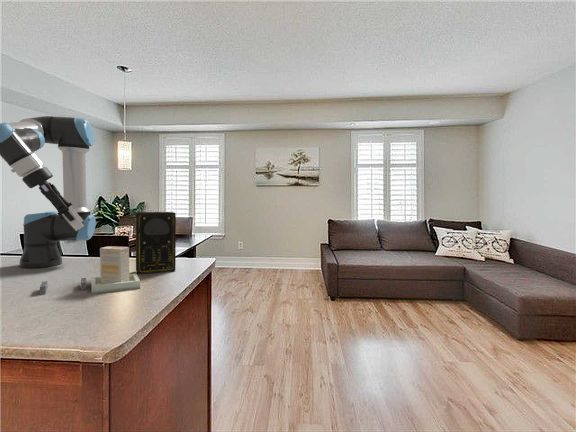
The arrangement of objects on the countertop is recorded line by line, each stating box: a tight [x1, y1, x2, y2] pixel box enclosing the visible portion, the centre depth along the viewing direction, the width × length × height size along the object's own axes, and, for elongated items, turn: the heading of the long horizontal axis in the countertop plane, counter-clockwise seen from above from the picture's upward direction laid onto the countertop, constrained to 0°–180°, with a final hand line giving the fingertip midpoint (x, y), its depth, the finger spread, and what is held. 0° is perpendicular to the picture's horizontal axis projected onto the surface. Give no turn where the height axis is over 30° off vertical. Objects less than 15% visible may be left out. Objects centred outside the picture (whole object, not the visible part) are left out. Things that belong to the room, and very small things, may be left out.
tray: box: [90, 273, 141, 295], centre depth 116 cm, size 12×14×2 cm
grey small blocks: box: [39, 277, 87, 295], centre depth 111 cm, size 7×12×2 cm, turn 121°
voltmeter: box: [134, 211, 177, 275], centre depth 139 cm, size 16×9×25 cm, turn 120°
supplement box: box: [99, 245, 130, 284], centre depth 116 cm, size 8×5×13 cm, turn 78°
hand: (80, 225), depth 112 cm, fingers open, 13 cm apart
